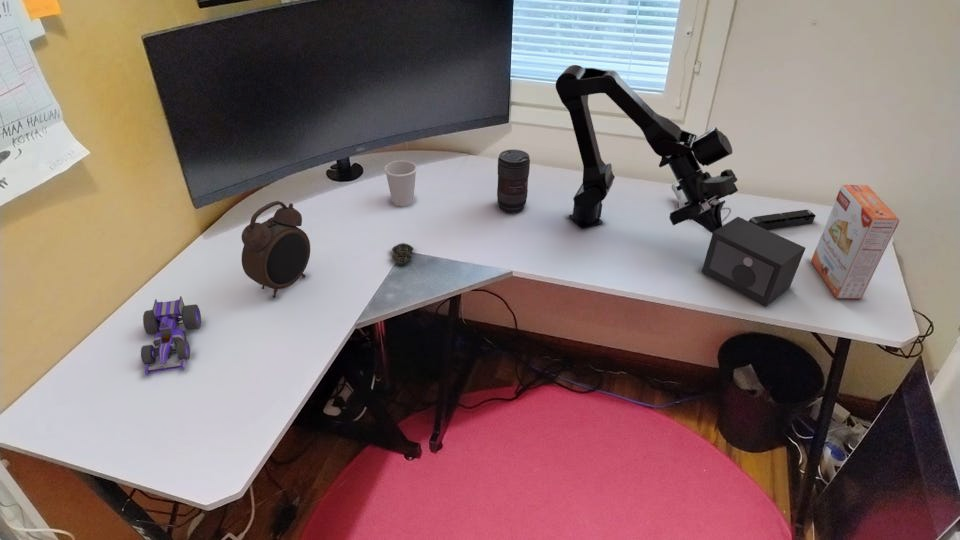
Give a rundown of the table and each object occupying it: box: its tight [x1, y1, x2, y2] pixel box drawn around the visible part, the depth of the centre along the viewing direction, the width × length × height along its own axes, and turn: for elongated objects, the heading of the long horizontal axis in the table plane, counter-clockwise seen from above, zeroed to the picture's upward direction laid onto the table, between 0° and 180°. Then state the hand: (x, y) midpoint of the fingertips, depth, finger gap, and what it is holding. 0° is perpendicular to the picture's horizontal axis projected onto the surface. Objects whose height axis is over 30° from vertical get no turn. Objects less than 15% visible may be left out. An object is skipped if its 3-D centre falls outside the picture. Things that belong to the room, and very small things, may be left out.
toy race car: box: [140, 295, 202, 376], centre depth 118 cm, size 10×15×6 cm, turn 13°
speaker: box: [701, 216, 806, 307], centre depth 136 cm, size 16×10×11 cm, turn 40°
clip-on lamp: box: [671, 180, 732, 223], centre depth 161 cm, size 12×6×18 cm
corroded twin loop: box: [391, 242, 414, 265], centre depth 144 cm, size 5×8×1 cm, turn 3°
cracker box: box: [810, 184, 901, 300], centre depth 133 cm, size 14×6×21 cm, turn 178°
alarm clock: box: [241, 200, 311, 299], centre depth 130 cm, size 15×7×20 cm, turn 148°
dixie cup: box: [384, 159, 418, 207], centre depth 162 cm, size 8×8×10 cm
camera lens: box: [496, 149, 531, 214], centre depth 159 cm, size 8×8×15 cm
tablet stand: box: [748, 209, 817, 231], centre depth 157 cm, size 18×3×3 cm, turn 104°
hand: (720, 236), depth 140 cm, fingers closed, pressing on speaker
